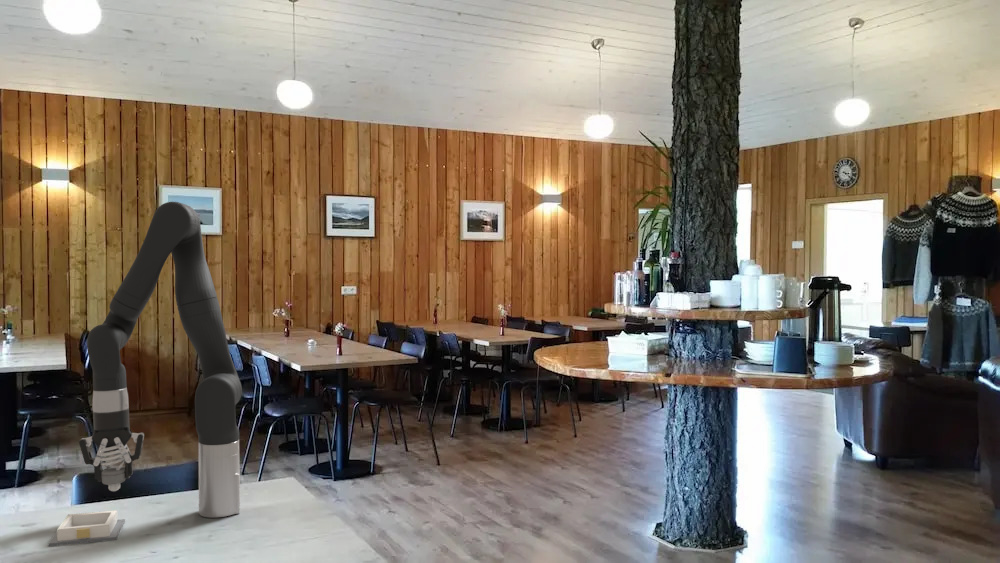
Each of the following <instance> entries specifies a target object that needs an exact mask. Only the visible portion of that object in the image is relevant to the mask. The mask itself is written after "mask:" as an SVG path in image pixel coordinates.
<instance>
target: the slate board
mask: <svg viewBox="0 0 1000 563" xmlns="http://www.w3.org/2000/svg"><path fill="white" fill-rule="evenodd" d="M125 522H126V519H125V518H124V519H123V518H122V519H117V523H116V524H115V526H114V528H113V530H112V532H111V534H110V536H106V537H95V538H85V539H74V540H63V541H57V531H56V532H55V533H54V534H53V536H52V538H51V539H50V541H49V542H48V543H47V546H48V547H53V546H55V547H56V546H66V545H77V544H85V543H95V542H106V541H107V542H108V541H117V538H118V537H119V535H120V533H121V531H122V529H123V527H124V525H125ZM95 525H96V524H95ZM84 526H85V525H84ZM73 527H74V526H73Z"/></svg>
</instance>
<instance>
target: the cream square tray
mask: <svg viewBox="0 0 1000 563" xmlns="http://www.w3.org/2000/svg"><path fill="white" fill-rule="evenodd" d="M117 520H118V510H106V511H105V510H104V511H96V512H82V513H70V514H67V516H66V517H65V518H64V520H63V521H62V523H61V524H60V525H59V526H58V528H57V530H56V532H57V541H63V540H74V539H85V538H95V537H106V536H110V534H111V532H112V530H113V528H114V526H115V524H116V523H117ZM95 524H96V525H95ZM84 525H85V526H84ZM73 526H74V527H73Z"/></svg>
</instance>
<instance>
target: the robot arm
mask: <svg viewBox="0 0 1000 563" xmlns="http://www.w3.org/2000/svg"><path fill="white" fill-rule="evenodd" d="M170 255H171V257H172V260H173V263H174V292H175V293H174V295H175V302H176V306H177V310H178V314H179V319H180V322H181V326H182V328H183V330H184V333H185V334H186V337H187V338H188V340H189V341H190V343H191V344H192V346H193V348H194V350H195V352H196V354H197V356H198V359H199V362H200V368H201V372H202V379H203V380H202V381H201V382H200V383H199V384H198V386H197V387H196V390H195V393H194V394H195V396H194V415H195V416H194V418H195V420H194V421H195V430H196V433H197V436H198V514H199V516H202V517H204V518H212V519H213V518H223V517H224V518H225V517H227V516H228V517H229V516H231V515H235V514H238V515H239V514H240V509H241V508H240V507H241V490H240V489H241V477H240V476H241V472H240V471H241V470H240V469H241V468H240V428H239V427H238V426H237V425H238V424H237V418H236V415H237V414H236V405H237V404H238V403H239V402H240V400H241V397H242V393H243V389H242V388H243V387H242V382H241V380H240V378H239V374H238V372H237V368H236V367H235V364H234V361H233V359H232V355H231V353H230V349H229V345H228V339H227V333H226V328H225V325H224V321H223V315H222V311H221V306H220V303H219V299H218V294H217V290H216V288H215V285H214V281H213V278H212V275H211V270H210V268H209V265H208V263H207V258H206V255H205V248H204V242H203V234H202V228H201V221H200V217H199V214H198V213H197V211H195V209H194V208H193V207H191V206H190V205H187V204H185V203H183V202H179V201H166V202H165V203H163V204H160V205H159V206H158V208H157V209H156V210H155V212H154V214H153V215H152V219H151V221H150V223H149V227H148V229H147V232H146V234H145V237H144V240H143V242H142V244H141V247H140V249H139V251H138V253H137V255H136V258H135V259H134V261H133V263H132V265H131V266H130V268H129V270H128V272H127V273H126V275H125V277H124V279H123V280H122V281H121V284H120V285H119V286H118V288H117V291H116V292H115V294H114V295H113V297H112V299H111V300H110V303H109V312H108V313H107V315H106V317H105V320H104V321H103V323H102V324H98V325H96V326H94V327H92V329H90V331H89V333H88V335H87V340H86V348H87V354H88V359H89V362H90V367H91V369H92V387H93V391H92V392H93V393H92V408H91V409H92V416H93V418H92V419H93V434H92V436H88V437H82V438H81V439H79V441H78V444H79V448H80V450H81V454H82V458H83V460H84V464H85V465H91V466H93V469H94V470H93V472H94V479H95V480H97V482H99V483H102V478H101V471H102V470H103V466H102V465H101V463H102V461H100V459H101V458H103V457H102V456H101V454H103V453H105V452H112V451H116V450H118V449H121V450H122V449H123V450H122V451H121V454H122V455H123V457H124V459H125V461H126V462H125V463H124V467H125V475H126V479H130V477H132V476H133V473H134V465H133V464H134V463H133V462H134V461H136V460H139V459H140V457H141V455H142V450H143V445H144V439H145V433H144V432H141V431H140V432H138V433H137V432H133V430H131V428H130V427H131V426H130V409H129V408H130V407H129V406H130V405H129V403H130V402H129V392H128V388H127V386H128V385H127V371H126V367H125V365H124V364H123V363H122V359H121V352H120V351H121V350H122V349H123V348H124V347H125V346H126V344H127V343H128V341H129V340H130V338H131V335H133V331H134V329H135V326H136V324H137V321H138V319H139V316H140V315H141V314H142V313H143V310H144V309H145V308H146V306H147V304H148V302H149V300H150V299H151V297H152V295H153V293H154V291H155V288H156V286H157V284H158V281H159V278H160V275H161V272H162V269H163V267H164V265H165V263H166V261H167V260H168V258H169V256H170ZM130 439H133V442H134V443H135V450H134V453H133V454H132V453H131V451H130V448H129V446H128V442H129V441H130ZM92 442H93V443H94V444H95V445H96V446H97V447H98V449H97V452H96V456H95V457H92V456H93V455H92V453H91V450H90V449H91V448H90V446H91V445H92ZM116 445H119V446H120V447H119V448H117V449H114V450H110V451H104V452H102V449H103V448H108V447H112V446H116Z"/></svg>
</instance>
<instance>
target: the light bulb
mask: <svg viewBox="0 0 1000 563" xmlns="http://www.w3.org/2000/svg"><path fill="white" fill-rule="evenodd" d="M119 447H120V446H119V445H116V446H112V447H108V448H103V449H102V452H104V451H110V450H114V449H117V448H119ZM122 450H123V449H122ZM122 450H121V449H118V450H116V451H110V452H105V453H103V454H101V456H102V457H103V458H101V459H100V461H101V465H102V467H106V468H104V469H102V471H101V478H102V481H101V483H102V484H103V485H107V486H108V487H107V488H108V490H109V491H110V492H113V493H116V492H117V491H119V489H121V483H124V482H125V481H126V475H125V463H126V461H125V459H124V457H123V455H122V454H121V451H122ZM119 463H120V464H119ZM116 464H119V465H118V466H113V465H116Z"/></svg>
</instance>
